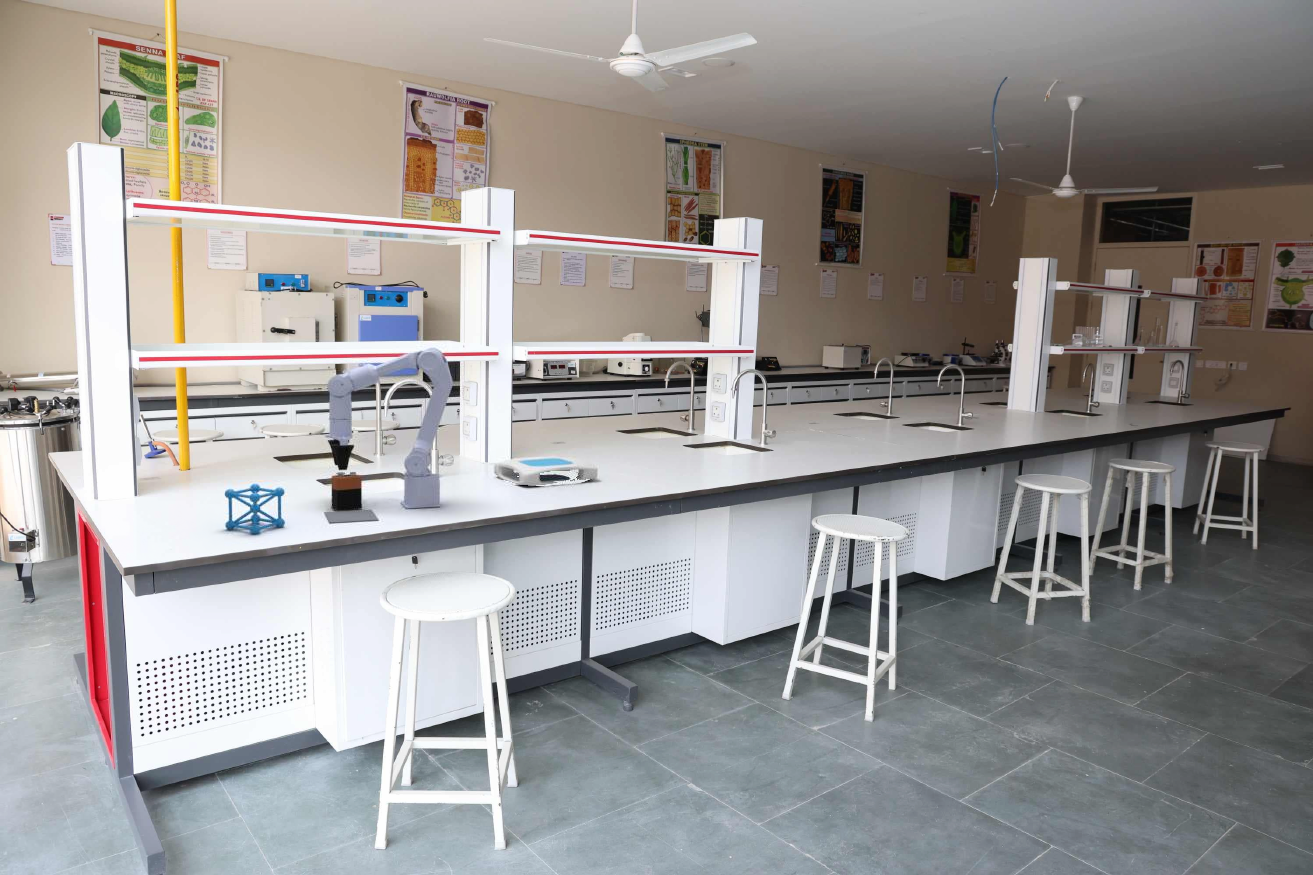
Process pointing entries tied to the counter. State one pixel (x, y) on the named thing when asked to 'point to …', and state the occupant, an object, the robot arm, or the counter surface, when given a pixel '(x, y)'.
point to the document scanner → (541, 469)
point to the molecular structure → (254, 508)
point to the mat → (350, 516)
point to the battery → (346, 491)
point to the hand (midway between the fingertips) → (340, 467)
